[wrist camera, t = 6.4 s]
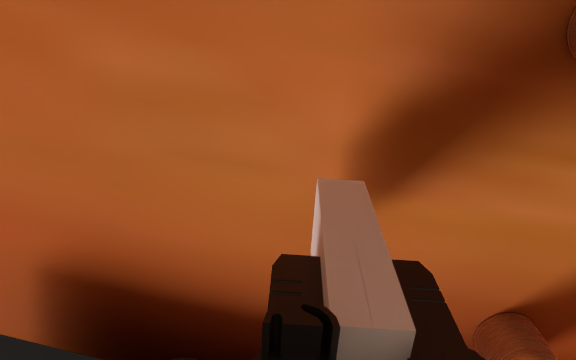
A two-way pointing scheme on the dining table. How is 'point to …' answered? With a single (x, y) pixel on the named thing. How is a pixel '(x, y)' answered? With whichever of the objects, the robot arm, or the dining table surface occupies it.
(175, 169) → the dining table surface
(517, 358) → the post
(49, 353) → the lantern
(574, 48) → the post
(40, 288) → the dining table surface
